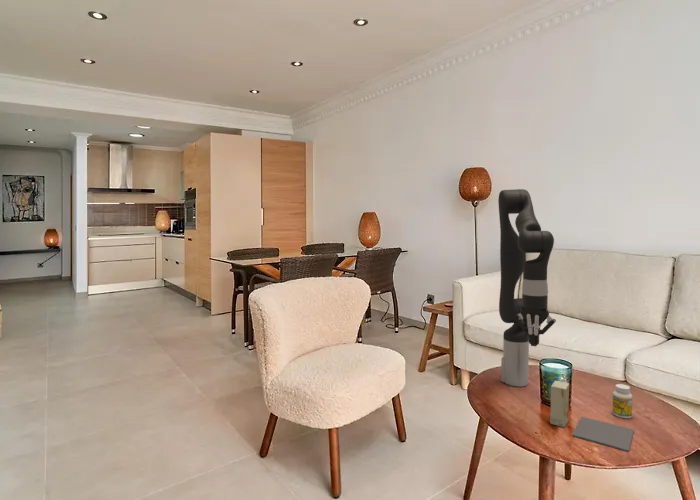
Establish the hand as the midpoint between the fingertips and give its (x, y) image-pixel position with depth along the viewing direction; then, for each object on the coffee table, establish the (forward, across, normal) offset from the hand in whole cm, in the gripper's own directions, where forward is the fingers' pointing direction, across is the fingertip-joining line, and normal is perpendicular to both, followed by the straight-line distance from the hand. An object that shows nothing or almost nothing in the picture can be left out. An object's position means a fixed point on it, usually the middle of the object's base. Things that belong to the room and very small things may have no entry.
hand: (534, 345), depth 136 cm
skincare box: (+24, +8, 0) cm, 25 cm away
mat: (+23, +20, 0) cm, 31 cm away
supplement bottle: (+24, +23, +17) cm, 37 cm away
